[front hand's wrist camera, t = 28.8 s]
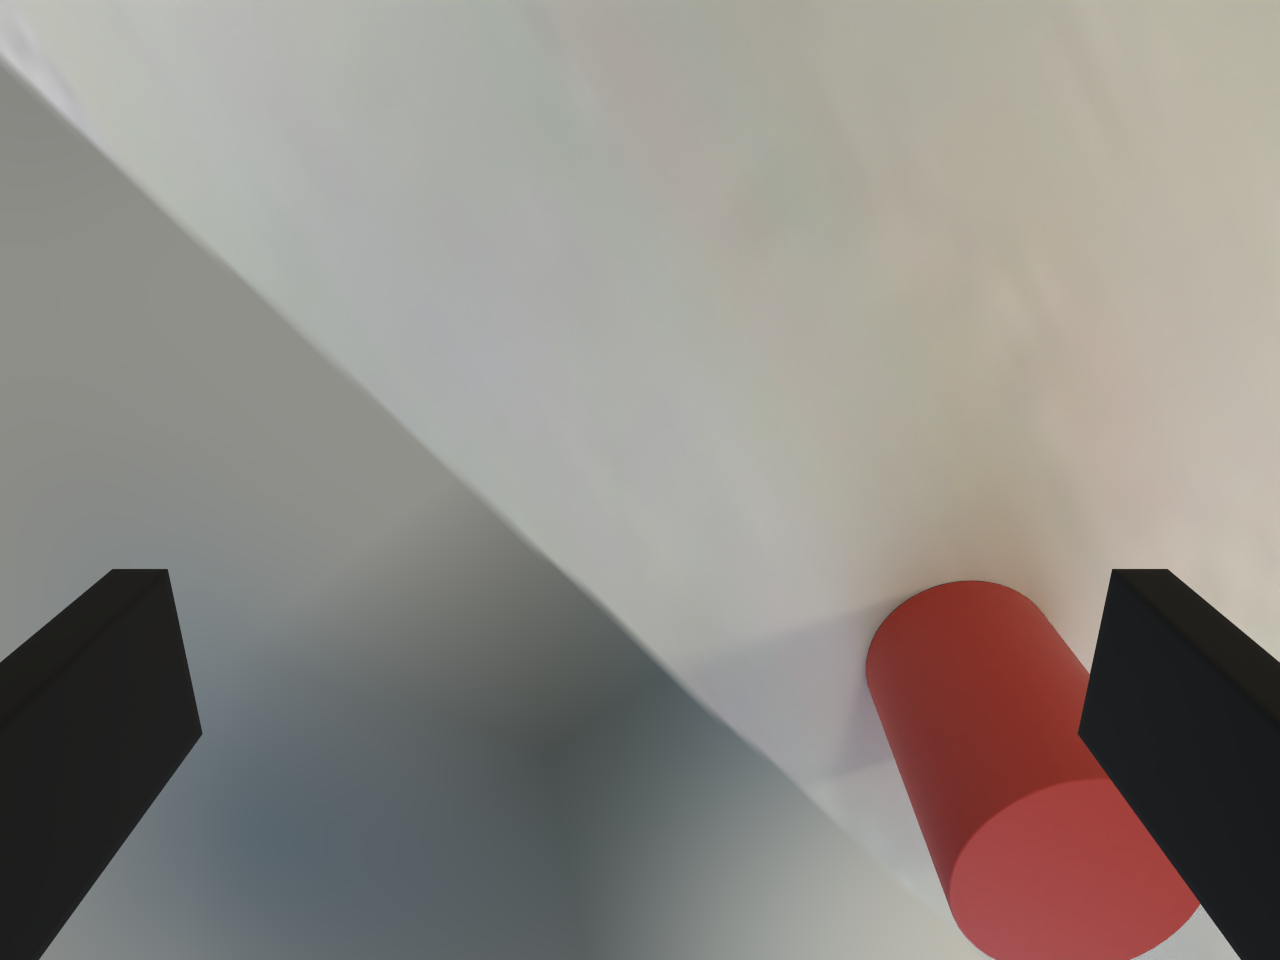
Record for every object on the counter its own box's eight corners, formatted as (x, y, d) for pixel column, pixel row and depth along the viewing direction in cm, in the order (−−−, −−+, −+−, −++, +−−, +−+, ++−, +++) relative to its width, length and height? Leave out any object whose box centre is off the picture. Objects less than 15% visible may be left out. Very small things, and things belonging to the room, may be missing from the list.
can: (1093, 647, 40) (1270, 864, 28) (960, 766, 42) (1073, 1009, 31) (957, 545, 38) (1088, 733, 27) (827, 676, 41) (894, 899, 29)
